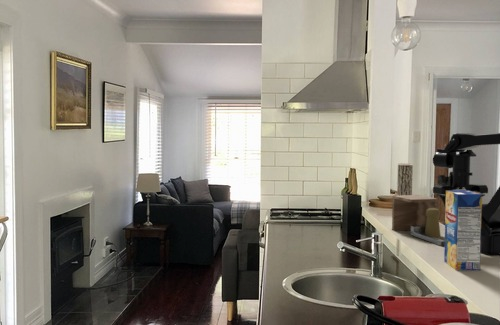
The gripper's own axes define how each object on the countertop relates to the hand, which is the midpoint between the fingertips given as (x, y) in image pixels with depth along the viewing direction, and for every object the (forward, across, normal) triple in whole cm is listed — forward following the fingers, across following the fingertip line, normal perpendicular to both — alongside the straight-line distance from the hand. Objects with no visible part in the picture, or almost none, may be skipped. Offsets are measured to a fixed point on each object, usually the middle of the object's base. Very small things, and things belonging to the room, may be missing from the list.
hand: (459, 213), depth 189 cm
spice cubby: (+12, 0, -28) cm, 30 cm away
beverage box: (+11, +17, +24) cm, 32 cm away
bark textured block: (+12, -19, -66) cm, 70 cm away
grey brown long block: (+11, +1, -9) cm, 15 cm away
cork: (+12, -1, -17) cm, 20 cm away
